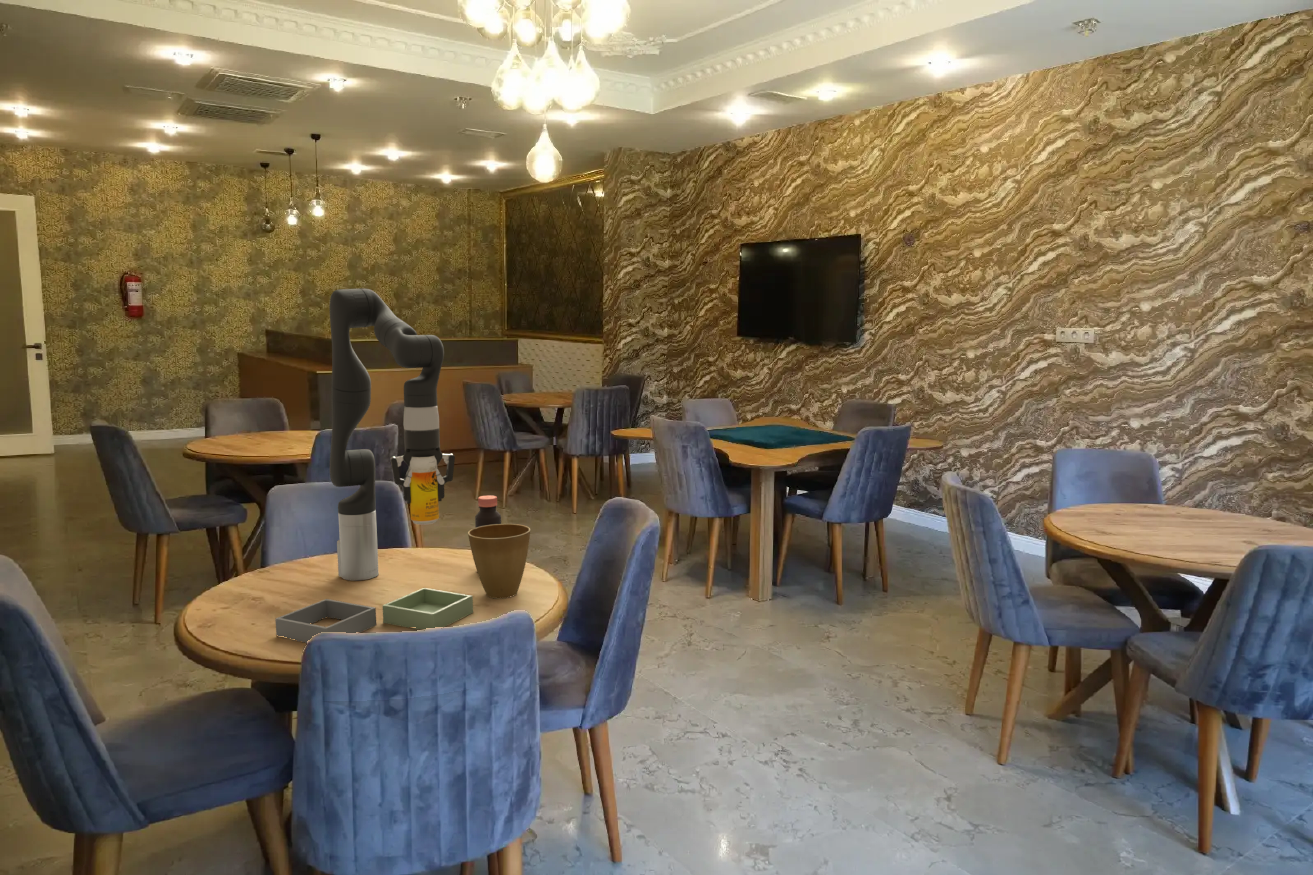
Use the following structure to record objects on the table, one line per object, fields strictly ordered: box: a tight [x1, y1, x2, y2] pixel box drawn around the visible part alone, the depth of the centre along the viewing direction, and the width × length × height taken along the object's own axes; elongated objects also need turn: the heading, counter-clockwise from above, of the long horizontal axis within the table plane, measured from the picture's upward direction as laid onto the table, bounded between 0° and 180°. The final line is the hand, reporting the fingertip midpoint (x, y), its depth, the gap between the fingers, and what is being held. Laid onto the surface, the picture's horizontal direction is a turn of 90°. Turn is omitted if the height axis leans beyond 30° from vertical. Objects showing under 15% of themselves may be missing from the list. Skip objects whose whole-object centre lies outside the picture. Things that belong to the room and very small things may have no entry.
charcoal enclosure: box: [275, 598, 377, 644], centre depth 193 cm, size 14×14×4 cm
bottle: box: [474, 494, 502, 528], centre depth 236 cm, size 7×7×20 cm
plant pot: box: [467, 523, 531, 599], centre depth 217 cm, size 15×15×16 cm
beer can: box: [408, 456, 440, 526], centre depth 197 cm, size 6×6×15 cm
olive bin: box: [382, 587, 474, 630], centre depth 201 cm, size 14×14×4 cm
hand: (424, 501), depth 198 cm, fingers closed on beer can, 6 cm apart
